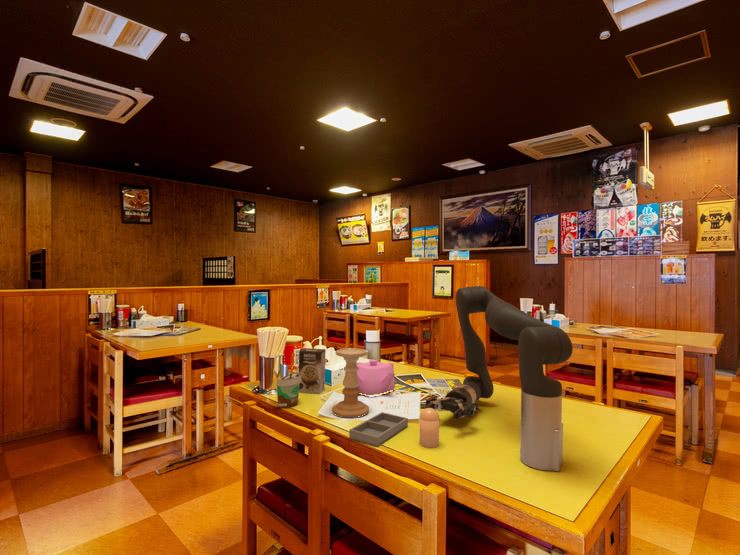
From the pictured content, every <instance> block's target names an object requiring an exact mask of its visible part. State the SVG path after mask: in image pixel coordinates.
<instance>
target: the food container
mask: <svg viewBox="0 0 740 555" xmlns="http://www.w3.org/2000/svg"><path fill="white" fill-rule="evenodd" d="M301 381H302V380H301V376H300V374H299V372H295V371H289V374H288V375H286V376H284V377H282V378H281V379H276V382H275V383H276V385H275V386H276V388H277V389H276V390H277V392H276V394H277V409H290V408H291V409H292V408H294V407H296V406H297V405H298V404H299V397H300V396H299V394H300V392H299V384H300V382H301Z"/></svg>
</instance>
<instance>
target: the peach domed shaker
mask: <svg viewBox="0 0 740 555" xmlns="http://www.w3.org/2000/svg"><path fill="white" fill-rule="evenodd" d="M418 439H419V445H420V446H421V447H423V448H427V449H434V448H437V447H439V446H440V415H439V413H438V411H437V410H434V409H432V408H426V407H425V408H424V409H422V410H421V412H420V414H419V438H418Z"/></svg>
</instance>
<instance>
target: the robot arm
mask: <svg viewBox="0 0 740 555" xmlns="http://www.w3.org/2000/svg"><path fill="white" fill-rule="evenodd" d="M455 306H456V307H455V308H456V312H457V317H458V320H459V321H458V322H459V326H460V331H461V335H462V339H463V345H464V346H463V347H464V354H465V368H466V370H467V371H468V372H471V373H474V374H475V375H477V376H471V375H470V376H465V377H464V378H463V381H462V384H461V385H458V386H456V387H455V388H453V389H451V390H450V391H449V392H447V394H446V395H445V397H444V398H438V396H437V395H433V396H432V397H429V398H427V399H426V400H425V409H426V408H432V409H434V410H436V411H437V412H450V413H452V414H453V420H455V421H457V420H458V419H461V418H465V417H466V418H468V419H471V418H472V417H473V416H474V415H475V414H476V410H477V408H476V403H477V402H478V401H479V400H480V399H490V398H491V397H492V396H493V394H494V391H495V390H494V389H495V386H494V383H493V380H492V377H491V376H490V373H489V368H488V365H487V353H486V352H487V351H486V347H485V344H484V343H483V340H482V339H481V337H480V336H479V335H478V333H477V332H476V330H475V329H474V328H473V326H472V324H471V320H470V314H478V313H484V320H485V322H486V324H487V325H488V327H489V328H490V329H491V330H493V331H494V332H496V333H497V334H499V335H501V336H502V337H505V338H507V339H510V340H513V341H514V340H515V341H518V344H517V345H518V347H517V348H518V374H519V375H518V376H519V380H520V385H521V386H520V394H521V395H520V435H519V436H520V439H519V440H520V441H519V442H520V446H519V447H520V449H519V457H520V458H519V459H520V461H521V462H522V464H524V465H526V466H528V467H530V468H533V469H535V470H536V469H537V470H541V471H555V472H560V469H561V466H562V464H563V452H564V450H563V449H564V448H563V447H564V439H563V438H564V423H562V418H563V417H562V412H563V410H562V409H563V408H562V407H563V385H562V382H560V381H559V380H558V379H555V378H554V377H551V376H546V375H545V373H544V365H545V366H546V365H559V364H564V363H565V362H567V361H569V359H570V358H571V357H572V354H573V343H572V341H571V338H570V337H569V335H568V333H567V332H566V331H564V330H563V329H562V328H560V327H558V326H556V325H553V324H550V323H547V322H545V321H541V320H539V319H537V318H535V317H534V316H532V315H530V314H528V313H527V312H525V311H523V310H521V309H519V307H516V306H514V305H512V303H510V302H508V301H505V300H503V299H502V298H500V297H498V296H496V295H495V294H494V293H492V292H491V291H490V290H489V289H488V288H487V287H485V286H484V285H483V286H482V285H475V286H465V287H460V288H458V289H457V290H456V291H455Z"/></svg>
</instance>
